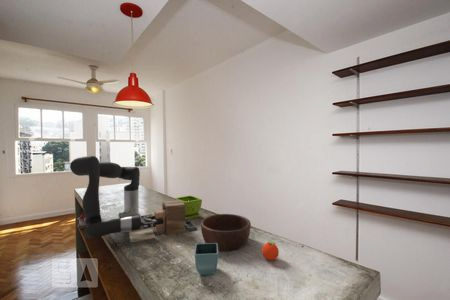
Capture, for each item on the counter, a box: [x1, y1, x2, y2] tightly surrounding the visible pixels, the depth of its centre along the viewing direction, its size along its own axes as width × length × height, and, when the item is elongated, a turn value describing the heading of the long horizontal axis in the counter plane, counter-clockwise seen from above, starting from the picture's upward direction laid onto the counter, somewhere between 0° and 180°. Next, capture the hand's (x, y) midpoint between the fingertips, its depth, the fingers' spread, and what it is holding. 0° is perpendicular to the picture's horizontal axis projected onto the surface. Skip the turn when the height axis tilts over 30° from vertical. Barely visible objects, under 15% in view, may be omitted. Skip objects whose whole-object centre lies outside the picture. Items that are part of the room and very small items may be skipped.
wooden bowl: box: [200, 213, 252, 252], centre depth 107 cm, size 25×25×10 cm
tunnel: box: [161, 199, 186, 236], centre depth 122 cm, size 12×10×16 cm
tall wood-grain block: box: [154, 209, 166, 234], centre depth 120 cm, size 7×15×11 cm, turn 117°
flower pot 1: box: [174, 195, 203, 221], centre depth 143 cm, size 14×14×13 cm
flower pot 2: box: [194, 243, 219, 276], centre depth 82 cm, size 9×9×9 cm
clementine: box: [261, 241, 280, 261], centre depth 91 cm, size 8×7×7 cm
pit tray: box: [185, 219, 198, 232], centre depth 126 cm, size 12×5×2 cm, turn 27°
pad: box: [128, 227, 156, 243], centre depth 114 cm, size 14×12×1 cm
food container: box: [118, 207, 137, 218], centre depth 125 cm, size 12×6×10 cm, turn 168°
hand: (162, 219), depth 119 cm, fingers open, 8 cm apart
